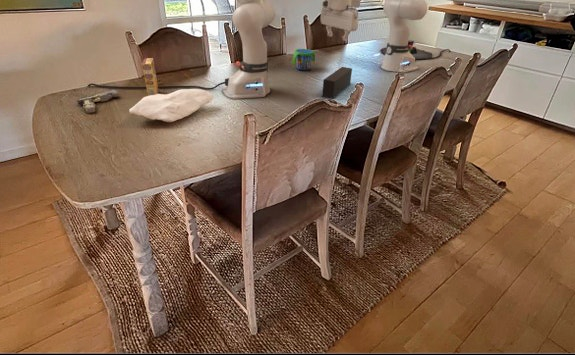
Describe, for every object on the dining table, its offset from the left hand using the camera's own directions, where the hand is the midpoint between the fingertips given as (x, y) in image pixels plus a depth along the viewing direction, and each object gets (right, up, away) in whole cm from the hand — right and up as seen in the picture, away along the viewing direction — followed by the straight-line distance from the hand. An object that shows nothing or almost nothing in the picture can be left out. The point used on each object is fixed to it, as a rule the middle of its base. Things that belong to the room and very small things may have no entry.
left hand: (337, 38), depth 161 cm
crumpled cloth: (-69, -36, -12) cm, 79 cm away
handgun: (-102, -30, -6) cm, 106 cm away
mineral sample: (+60, +24, +90) cm, 110 cm away
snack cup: (-13, +1, +49) cm, 50 cm away
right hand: (+5, +23, +30) cm, 38 cm away
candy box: (-84, -24, +5) cm, 87 cm away
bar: (+3, -18, +20) cm, 27 cm away
